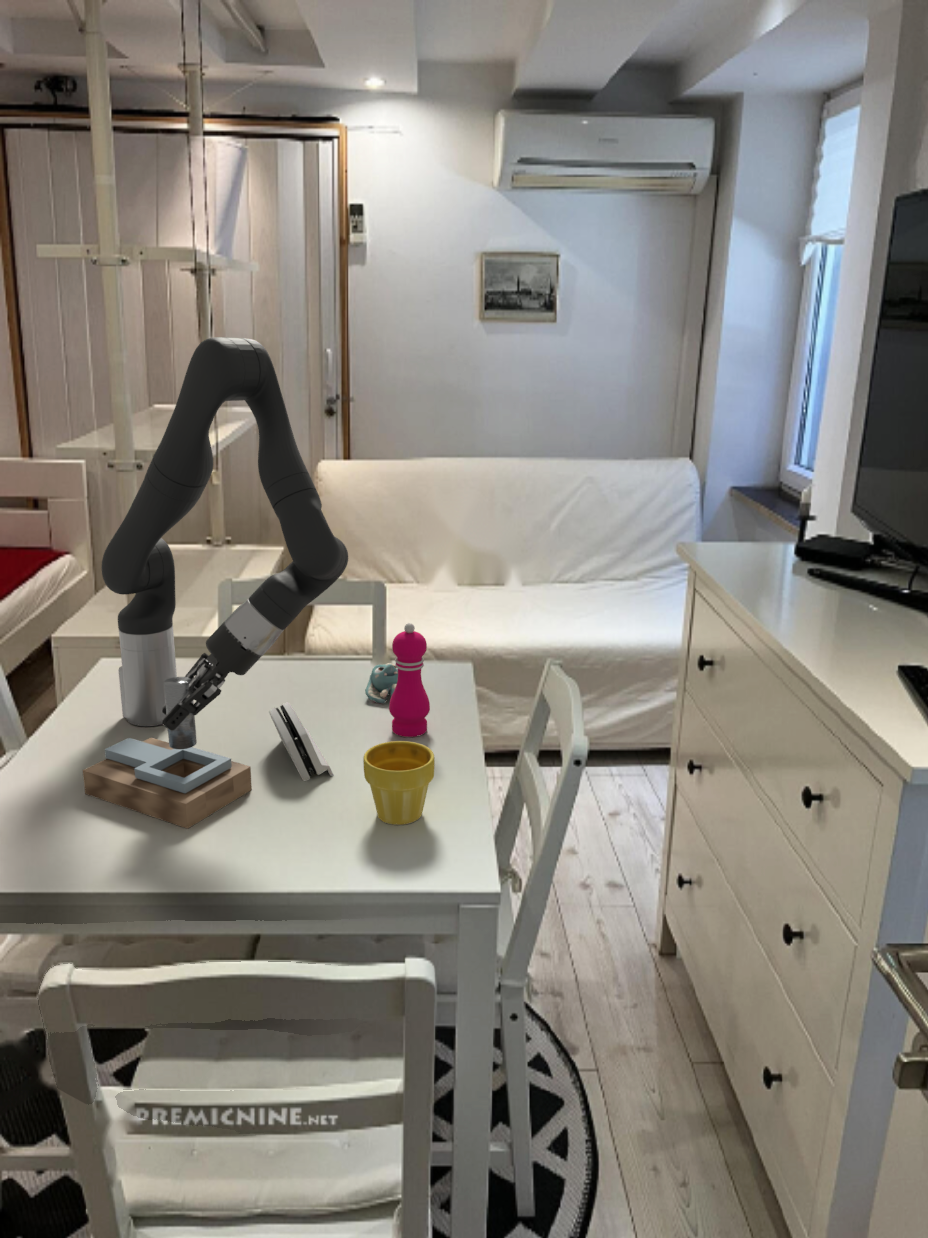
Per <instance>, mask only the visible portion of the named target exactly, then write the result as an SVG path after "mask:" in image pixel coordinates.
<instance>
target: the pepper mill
mask: <svg viewBox="0 0 928 1238" xmlns="http://www.w3.org/2000/svg"><path fill="white" fill-rule="evenodd" d="M391 643H392V645H391V646H392V647H391V648H392V649H391V651H392V652H393V654H394V656H395V657H396V658H395V659H394V661H395V664H394V665H395V666H396V668H398V681H397V685H396V688H395V690H394V692H393V694H392V696H390V699H389V703H388V704H389V705H388V710H389V713H390V715H391V716H392V717H393V719H392V720H391V731H392V732H393V734H395V735H397V736H399V737H405V738H415V737H421V736H423V735H424V734H426V732H427V730H428V719H426V718H427V716H428V715H429V714H430V711H431V703H430V700H429V696H428V694H427V692H426V689H425V687H424V684H423V681H422V669H423V667H425V663H424V661H425V659H424V657H423V656H424V655H425V654H426V652H427V649H428V646H427V640H426V638H425V637H424V636H423V634H421V633H420V632H418V631H415V625H414V624H413V623H411V622H407V623H405V625H404V631H401V632H399V633H397V634H396V635H395V637H393V640H392V642H391Z"/></svg>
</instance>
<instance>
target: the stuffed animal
mask: <svg viewBox="0 0 928 1238" xmlns="http://www.w3.org/2000/svg"><path fill="white" fill-rule="evenodd" d="M397 681H398V668H396V666H395V664H394V663H391V662H388V663H384V664H377V665H375V666H373V668H372V671H371V673H370V675H369V679H368V683H367V685H366V688H365V689H364V691H365V693H364V694H365V695H366V697H367V698H368V699H369V700H371V701H372V702H374V703H376V702H377V704H385V703H386V702H387V701H388V699H389V698H388V694H389V696H390V697H391V696H392V694H393V692H394V690H395V688H396V685H397ZM386 700H387V701H386Z"/></svg>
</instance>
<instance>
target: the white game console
mask: <svg viewBox="0 0 928 1238" xmlns="http://www.w3.org/2000/svg"><path fill="white" fill-rule="evenodd" d="M279 707H280V709H279ZM279 707H275V706H274V707H273V708H271V709H270V710H269V711H268V713H269V715H270V717H271V720H272V722H273V724H274V726H275V729H276V731H277V733H278V735H279V738H280V740H281V742H282V743H283V746H284V748H285V749H286V752H287V754H288V755H289V757H290V759H291V761H292V762H293V764H294V767H295V768H296V770H297V772H298V774H299V776H300V778H301V779H302V781H303V782H304V781H308V780H311V777H312V776H313V775H312V773H313V774H314V775H315V774H316V775H317V776H319V775H321V774H323V773H324V772H325V771H327V772H328V774H329V776H330V777H334V773H333V771H332V768H331V767H330V765H329V762H327V760H326V758H325V756H324V755H323V752H321V749H320V748H319V746H318V744H317V742H316V741H315V740H314V738H313V736H312V735H311V733H310V731H309V730H308V728H306V727H304V725H303V723H302V721H301V720H300V717H299V715H298V714H297V712H296V710H295V709H294V708H293V706H292V704H291V703H290V702H289V701H287V702H284V703H281V705H280V706H279ZM311 771H312V773H311Z"/></svg>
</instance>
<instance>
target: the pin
mask: <svg viewBox="0 0 928 1238" xmlns="http://www.w3.org/2000/svg"><path fill="white" fill-rule="evenodd" d="M191 681H192V679H190V678H188V677H185V676H177V677H173V678H169V679H167V680H165V681H164V692H165V703H166V715H167V714H168V713H169V712H170V711H171V710H172V709H173V708H174V707H175V706H176V705H177V704H178V703H179V700H180V699H182V697H183V696H184V695H185V694H186V693H187V689H186V688H187V686H188V685H189V684H190V682H191ZM194 701H195V700H193V701H192V702H191V703H193V704H194V703H195V702H194ZM195 717H196V715H195V716H194V715H193V714H189V715H188V716H187V717H186V718H185V719H184V720H183V721H182V722H181V723H180V725H179V726H178V727H177V728H176V729H175V730H170V729H168V728H167V734H168V735H167V736H168V743H169V746H170V747H171V748H173V749H187V748H191V747H193V748H194V747H195V746H196V745H197V742H198V741H197V728H196V718H195Z"/></svg>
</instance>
